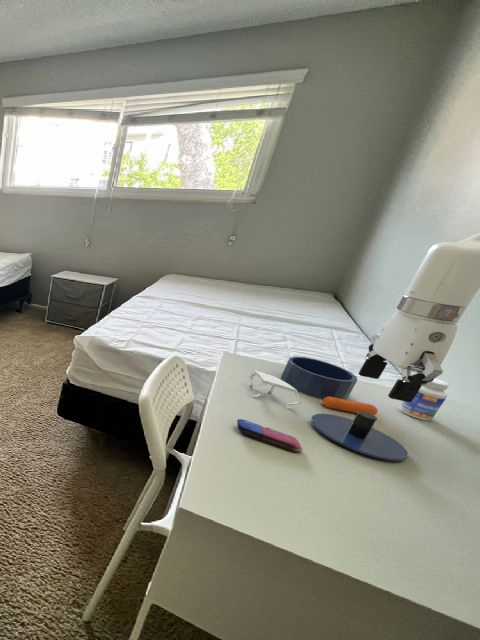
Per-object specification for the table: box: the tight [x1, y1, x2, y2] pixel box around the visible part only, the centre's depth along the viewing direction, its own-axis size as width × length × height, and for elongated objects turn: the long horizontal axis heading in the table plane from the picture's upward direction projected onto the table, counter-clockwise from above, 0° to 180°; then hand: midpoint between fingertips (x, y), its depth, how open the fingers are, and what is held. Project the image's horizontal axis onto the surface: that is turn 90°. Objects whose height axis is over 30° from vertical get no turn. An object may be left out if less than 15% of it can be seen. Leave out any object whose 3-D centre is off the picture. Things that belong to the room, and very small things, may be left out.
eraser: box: [236, 418, 303, 453], centre depth 73 cm, size 11×4×2 cm, turn 56°
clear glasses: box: [249, 369, 302, 410], centre depth 89 cm, size 12×8×5 cm
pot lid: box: [310, 411, 409, 462], centre depth 75 cm, size 15×15×6 cm
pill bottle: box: [398, 378, 450, 421], centre depth 85 cm, size 5×5×10 cm
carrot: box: [322, 397, 379, 416], centre depth 86 cm, size 3×3×10 cm
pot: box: [280, 356, 358, 400], centre depth 95 cm, size 14×14×6 cm
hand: (382, 387), depth 71 cm, fingers open, 9 cm apart
